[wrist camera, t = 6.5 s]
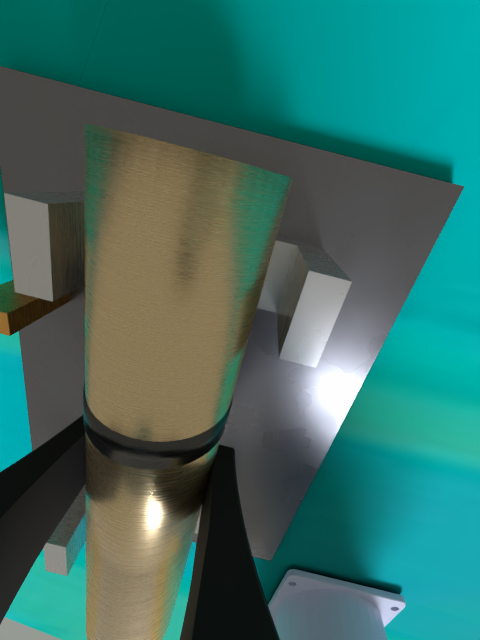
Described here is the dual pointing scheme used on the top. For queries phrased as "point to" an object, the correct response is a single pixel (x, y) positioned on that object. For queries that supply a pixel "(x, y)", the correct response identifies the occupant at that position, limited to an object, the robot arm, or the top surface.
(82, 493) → the plate
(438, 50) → the top surface
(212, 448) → the tube
